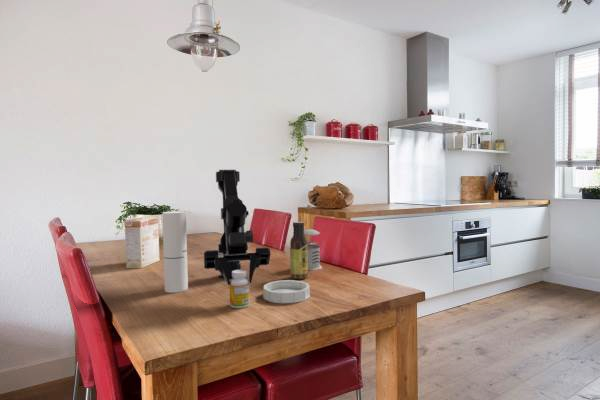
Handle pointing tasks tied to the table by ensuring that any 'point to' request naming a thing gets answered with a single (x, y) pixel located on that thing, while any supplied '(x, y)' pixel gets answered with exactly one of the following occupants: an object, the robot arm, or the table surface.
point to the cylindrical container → (175, 251)
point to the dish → (286, 291)
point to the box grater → (312, 248)
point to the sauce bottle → (298, 252)
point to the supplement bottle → (239, 289)
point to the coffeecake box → (141, 242)
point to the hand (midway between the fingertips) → (239, 283)
